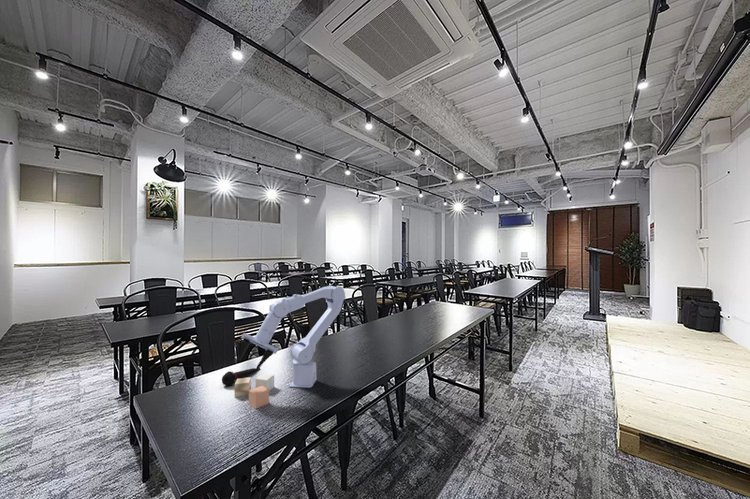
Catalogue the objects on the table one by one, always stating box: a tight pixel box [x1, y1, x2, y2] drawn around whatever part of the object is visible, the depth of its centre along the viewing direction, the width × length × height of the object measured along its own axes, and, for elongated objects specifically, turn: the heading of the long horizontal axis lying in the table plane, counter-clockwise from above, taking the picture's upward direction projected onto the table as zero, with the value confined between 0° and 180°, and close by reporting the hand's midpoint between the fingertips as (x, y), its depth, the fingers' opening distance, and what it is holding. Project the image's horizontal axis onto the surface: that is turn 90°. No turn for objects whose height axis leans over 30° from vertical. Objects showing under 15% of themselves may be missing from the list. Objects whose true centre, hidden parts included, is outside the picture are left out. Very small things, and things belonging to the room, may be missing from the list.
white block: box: [255, 373, 275, 392], centre depth 115 cm, size 5×5×5 cm
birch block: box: [234, 376, 252, 398], centre depth 111 cm, size 5×5×5 cm
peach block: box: [248, 386, 270, 409], centre depth 104 cm, size 5×5×5 cm
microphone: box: [221, 367, 261, 386], centre depth 126 cm, size 6×6×20 cm
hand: (248, 364), depth 108 cm, fingers open, 7 cm apart
